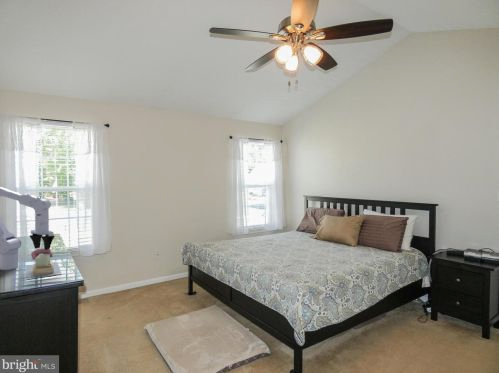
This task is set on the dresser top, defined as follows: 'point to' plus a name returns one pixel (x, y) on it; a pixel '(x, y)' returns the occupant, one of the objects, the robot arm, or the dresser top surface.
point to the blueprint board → (30, 274)
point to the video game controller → (41, 252)
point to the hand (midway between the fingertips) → (42, 248)
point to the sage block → (42, 260)
